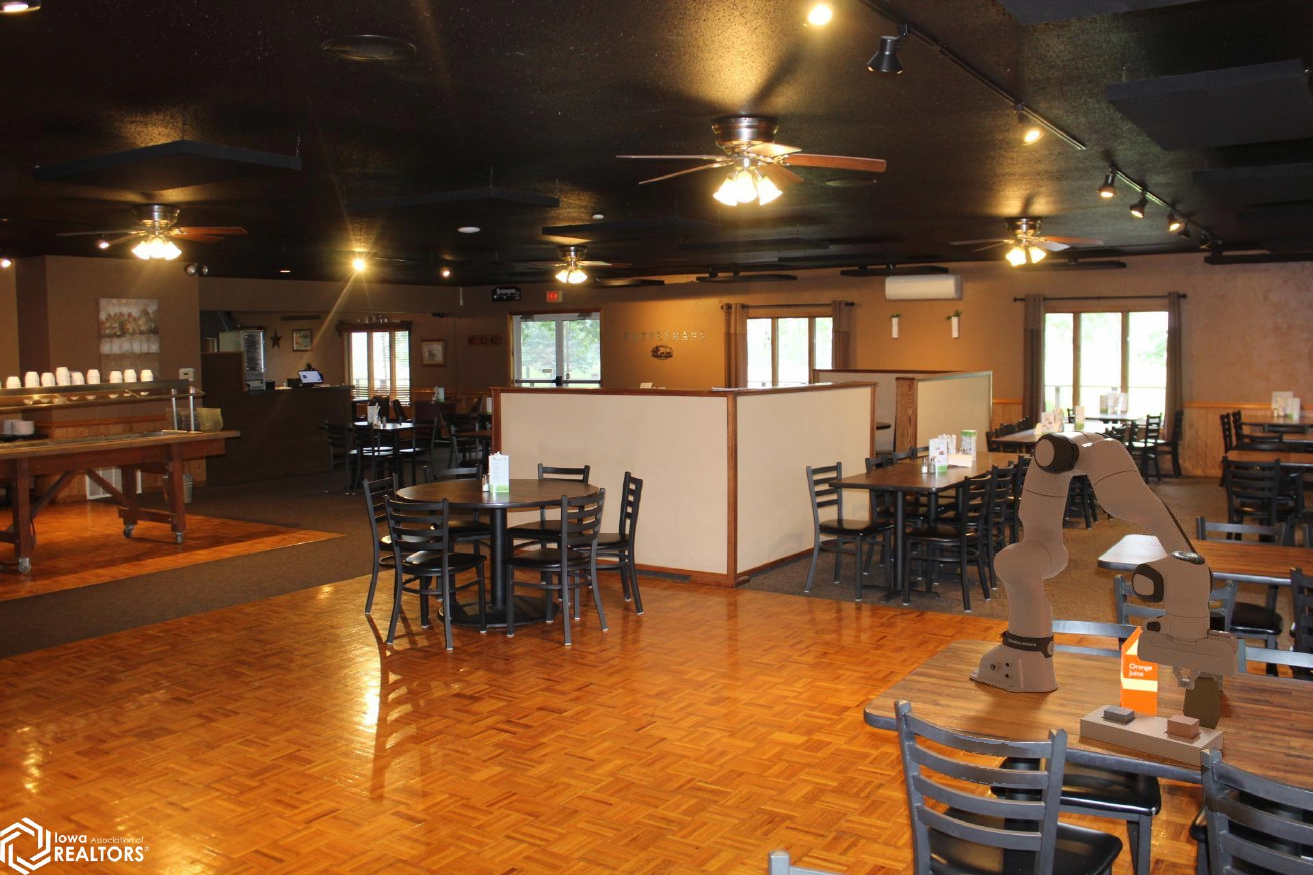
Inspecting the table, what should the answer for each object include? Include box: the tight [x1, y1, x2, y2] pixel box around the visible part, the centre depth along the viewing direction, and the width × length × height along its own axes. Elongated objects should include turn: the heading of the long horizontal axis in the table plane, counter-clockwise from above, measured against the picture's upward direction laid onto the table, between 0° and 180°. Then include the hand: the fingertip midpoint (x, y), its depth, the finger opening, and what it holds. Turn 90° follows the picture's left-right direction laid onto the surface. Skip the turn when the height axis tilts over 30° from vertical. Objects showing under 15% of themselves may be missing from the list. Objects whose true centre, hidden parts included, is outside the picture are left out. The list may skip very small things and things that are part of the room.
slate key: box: [1104, 704, 1135, 724], centre depth 241 cm, size 5×5×4 cm
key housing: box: [1079, 704, 1224, 767], centre depth 236 cm, size 26×14×4 cm, turn 44°
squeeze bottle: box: [1182, 671, 1222, 730], centre depth 244 cm, size 8×8×18 cm
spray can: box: [1209, 610, 1226, 692], centre depth 274 cm, size 7×7×20 cm
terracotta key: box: [1166, 713, 1199, 740], centre depth 231 cm, size 5×5×4 cm
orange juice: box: [1119, 625, 1159, 716], centre depth 259 cm, size 8×9×20 cm
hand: (1186, 687), depth 230 cm, fingers closed
